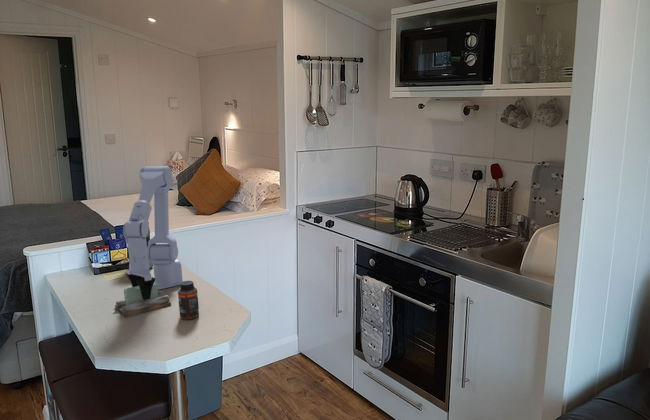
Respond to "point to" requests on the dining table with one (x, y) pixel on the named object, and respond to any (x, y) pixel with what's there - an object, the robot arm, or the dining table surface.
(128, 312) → the brown shallow piece
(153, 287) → the pale green block
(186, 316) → the supplement bottle
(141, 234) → the robot arm
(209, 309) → the dining table surface
